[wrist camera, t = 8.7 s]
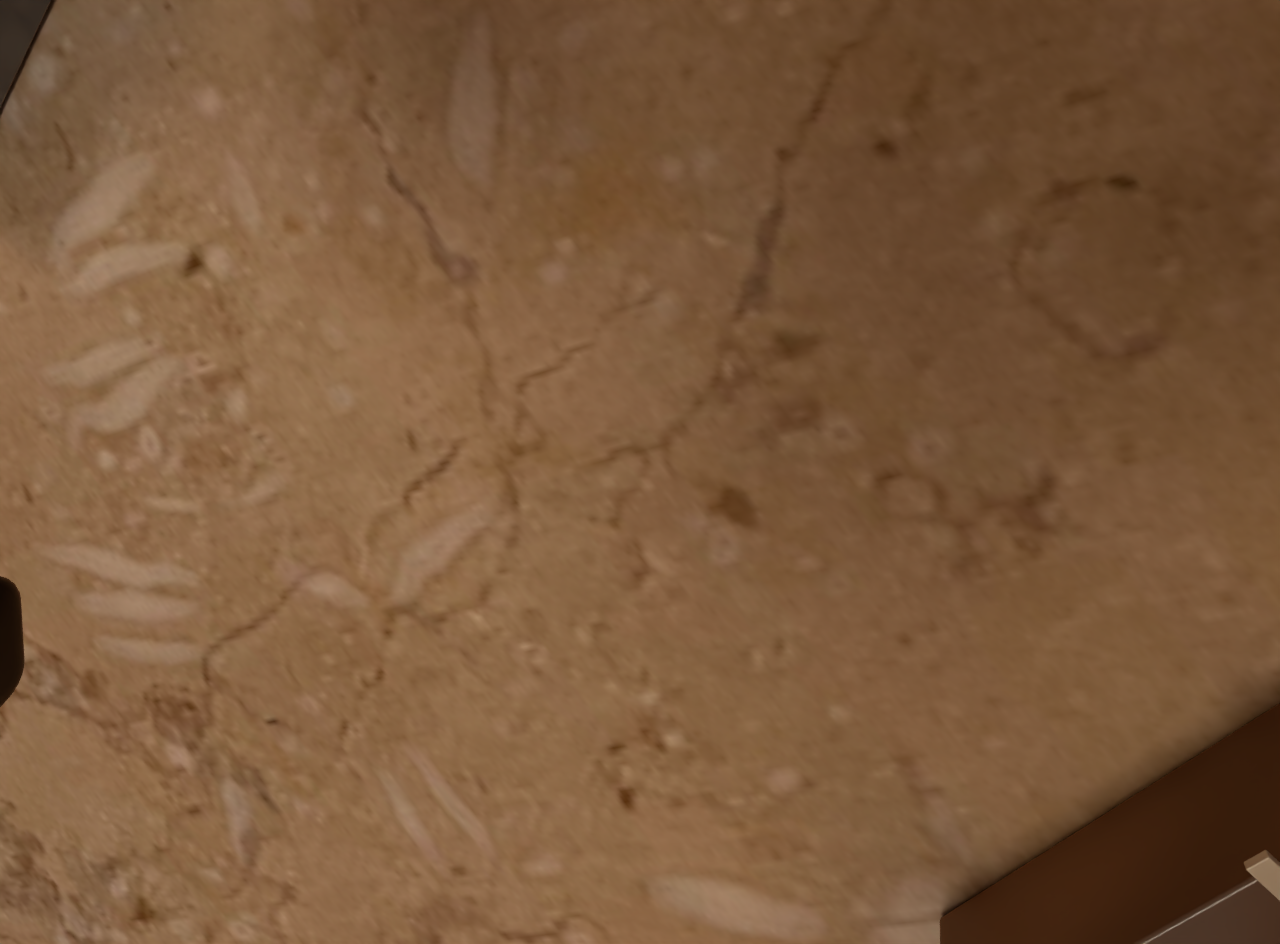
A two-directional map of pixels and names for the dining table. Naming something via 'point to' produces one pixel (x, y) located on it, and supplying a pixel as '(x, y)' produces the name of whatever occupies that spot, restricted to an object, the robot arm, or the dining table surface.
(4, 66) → the knob base
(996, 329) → the dining table surface
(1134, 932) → the panel
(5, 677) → the robot arm
